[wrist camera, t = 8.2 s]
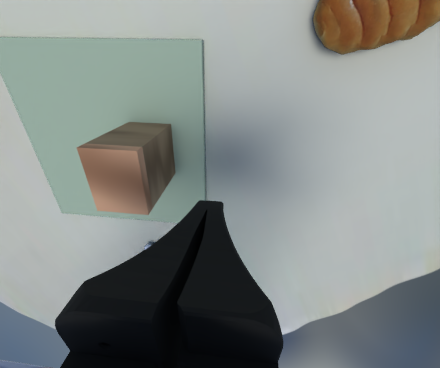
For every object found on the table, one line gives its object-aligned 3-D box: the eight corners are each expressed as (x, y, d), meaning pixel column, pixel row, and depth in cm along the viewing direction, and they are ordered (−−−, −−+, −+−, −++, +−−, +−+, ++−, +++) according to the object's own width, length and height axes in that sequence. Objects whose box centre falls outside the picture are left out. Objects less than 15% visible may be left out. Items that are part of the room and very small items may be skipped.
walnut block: (175, 173, 22) (148, 215, 16) (138, 170, 22) (97, 210, 16) (171, 123, 19) (136, 151, 13) (128, 121, 19) (76, 147, 13)
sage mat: (206, 221, 25) (205, 225, 25) (65, 210, 27) (62, 213, 26) (202, 40, 16) (201, 39, 16) (-8, 37, 18) (-16, 37, 17)
